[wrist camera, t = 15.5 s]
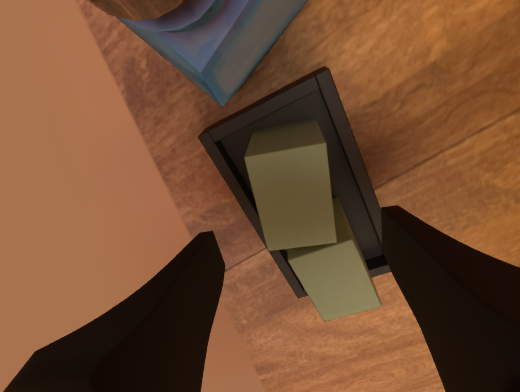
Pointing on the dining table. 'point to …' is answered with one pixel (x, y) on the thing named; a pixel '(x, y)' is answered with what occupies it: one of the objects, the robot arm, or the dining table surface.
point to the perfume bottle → (208, 35)
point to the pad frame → (338, 151)
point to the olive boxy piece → (292, 185)
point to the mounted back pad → (336, 273)
